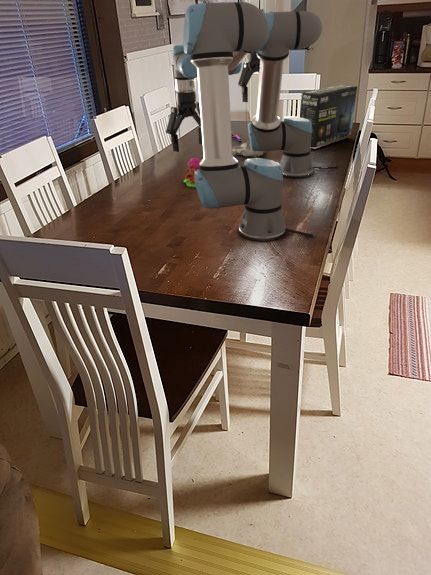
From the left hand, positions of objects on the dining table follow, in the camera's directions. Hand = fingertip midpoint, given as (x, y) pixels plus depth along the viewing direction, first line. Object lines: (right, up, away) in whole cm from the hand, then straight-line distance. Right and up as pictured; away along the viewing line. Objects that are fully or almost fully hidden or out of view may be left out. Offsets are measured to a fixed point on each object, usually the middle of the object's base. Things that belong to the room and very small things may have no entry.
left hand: (189, 147), depth 185 cm
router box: (+69, +21, +60) cm, 94 cm away
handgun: (+20, +29, +76) cm, 84 cm away
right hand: (+29, +32, +32) cm, 54 cm away
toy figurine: (+2, -12, +10) cm, 16 cm away
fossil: (+28, +11, +47) cm, 55 cm away
